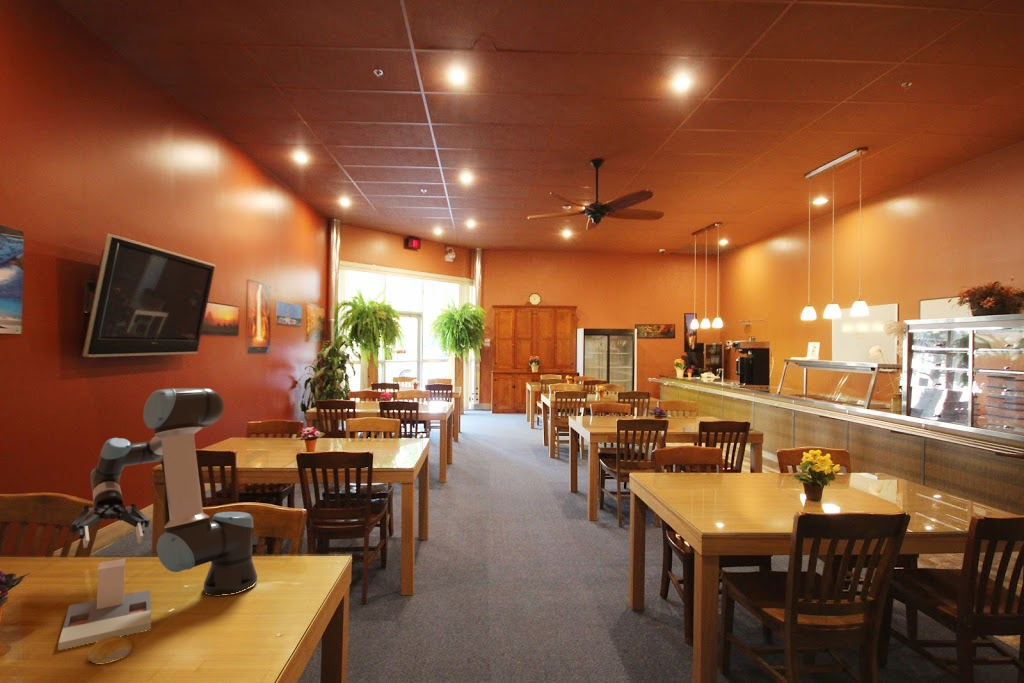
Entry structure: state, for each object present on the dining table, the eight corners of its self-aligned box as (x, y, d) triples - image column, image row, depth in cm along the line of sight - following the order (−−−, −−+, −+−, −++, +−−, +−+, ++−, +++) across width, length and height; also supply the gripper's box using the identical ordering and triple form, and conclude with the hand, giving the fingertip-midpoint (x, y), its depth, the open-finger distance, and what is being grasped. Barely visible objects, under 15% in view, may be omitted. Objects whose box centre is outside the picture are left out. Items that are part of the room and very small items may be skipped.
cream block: (98, 601, 154) (99, 562, 154) (123, 596, 157) (125, 558, 158) (96, 609, 149) (98, 569, 149) (123, 604, 152) (124, 565, 153)
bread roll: (120, 643, 136) (121, 627, 136) (136, 654, 131) (137, 637, 131) (80, 657, 129) (81, 641, 129) (96, 670, 124) (97, 652, 124)
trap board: (69, 612, 151) (69, 605, 151) (149, 596, 162) (150, 589, 162) (62, 636, 138) (62, 628, 138) (150, 617, 149) (150, 610, 149)
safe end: (62, 636, 138) (62, 628, 138) (150, 617, 149) (150, 610, 149) (58, 651, 131) (58, 642, 131) (150, 630, 142) (151, 622, 142)
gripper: (148, 506, 186) (157, 547, 171) (56, 510, 168) (58, 556, 153) (154, 488, 184) (164, 528, 170) (62, 490, 166) (65, 535, 152)
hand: (114, 541), depth 162 cm, fingers open, 13 cm apart
